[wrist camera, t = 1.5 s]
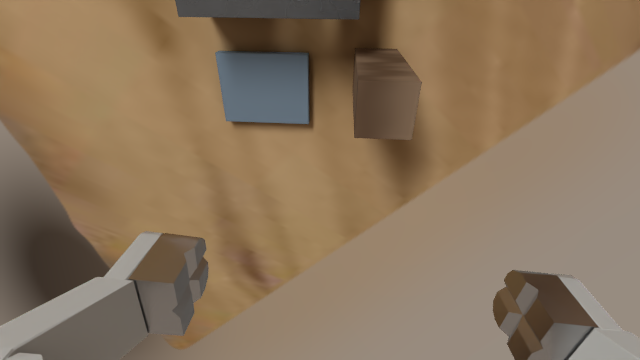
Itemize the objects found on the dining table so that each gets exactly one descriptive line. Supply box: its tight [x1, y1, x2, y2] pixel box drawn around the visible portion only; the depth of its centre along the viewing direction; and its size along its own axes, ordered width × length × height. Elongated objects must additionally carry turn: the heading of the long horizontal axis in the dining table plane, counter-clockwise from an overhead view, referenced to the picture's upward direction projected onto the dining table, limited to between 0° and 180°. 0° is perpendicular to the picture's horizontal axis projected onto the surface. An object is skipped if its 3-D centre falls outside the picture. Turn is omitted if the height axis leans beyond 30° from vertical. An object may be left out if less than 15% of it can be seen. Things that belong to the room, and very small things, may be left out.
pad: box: [215, 51, 309, 124], centre depth 33 cm, size 9×7×1 cm
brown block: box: [353, 48, 422, 140], centre depth 26 cm, size 4×4×12 cm
